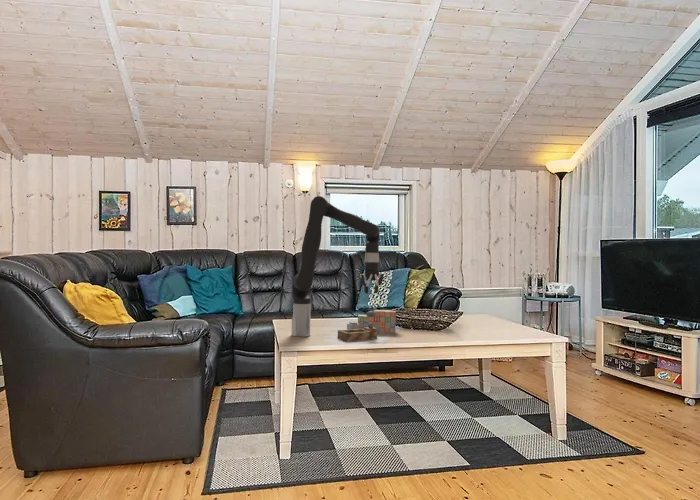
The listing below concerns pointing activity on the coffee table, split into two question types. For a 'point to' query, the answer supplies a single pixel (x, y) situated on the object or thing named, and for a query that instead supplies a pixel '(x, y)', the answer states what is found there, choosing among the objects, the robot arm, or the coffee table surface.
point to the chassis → (358, 333)
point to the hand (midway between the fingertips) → (371, 293)
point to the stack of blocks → (379, 321)
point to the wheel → (371, 314)
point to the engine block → (352, 325)
